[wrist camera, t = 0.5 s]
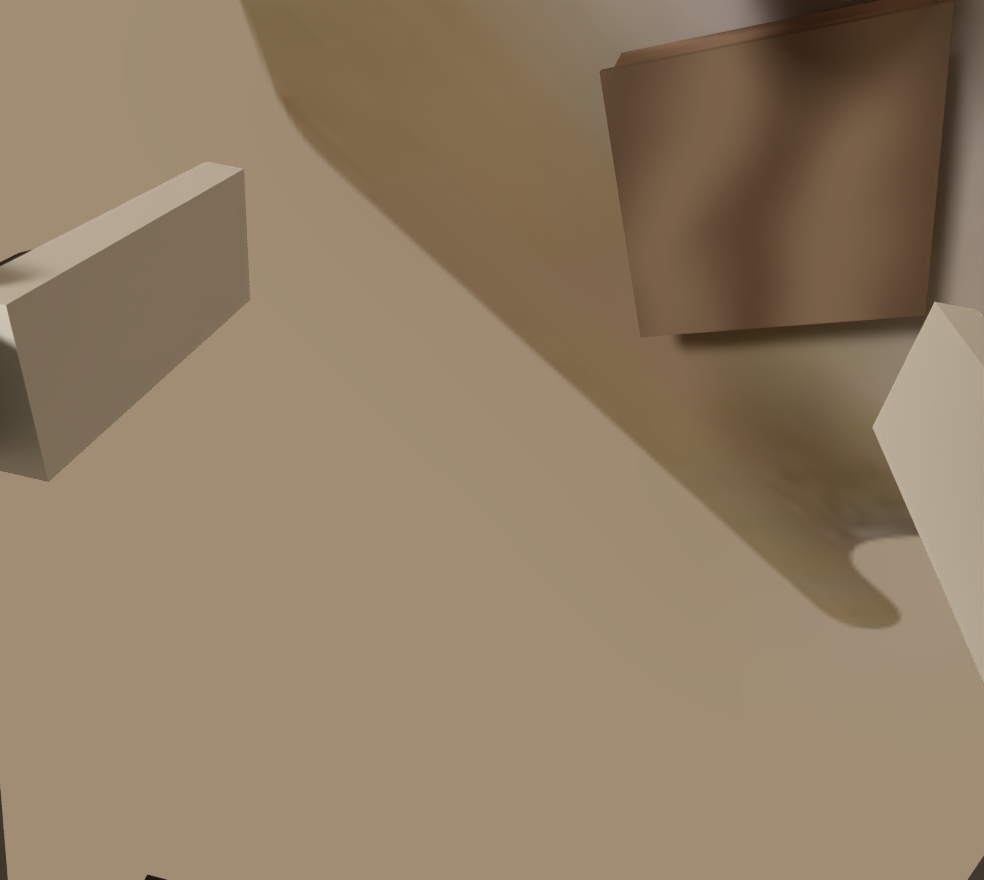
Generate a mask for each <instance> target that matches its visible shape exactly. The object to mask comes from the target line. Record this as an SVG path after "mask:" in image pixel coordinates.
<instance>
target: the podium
mask: <svg viewBox="0 0 984 880" xmlns="http://www.w3.org/2000/svg"><path fill="white" fill-rule="evenodd" d="M953 13H954V0H946V1H941V2H935V1H934V0H877V1H872V2H867V3H862V4H857V5H852V6H848V7H843V8H838V9H833V10H828V11H823V12H819V13H814V14H809V15H804V16H799V17H794V18H789V19H785V20H780V21H775V22H770V23H765V24H760V25H756V26H751V27H746V28H741V29H736V30H731V31H727V32H722V33H717V34H712V35H707V36H702V37H697V38H693V39H688V40H683V41H678V42H673V43H668V44H664V45H659V46H654V47H649V48H644V49H639V50H635V51H630V52H625V53H621V55H620V57H619V59H618V61H617V63H616V65H615V67H613V68H608V69H603V70H601V71H600V77H601V84H602V90H603V97H604V103H605V109H606V116H607V122H608V129H609V135H610V142H611V148H612V155H613V161H614V168H615V174H616V181H617V187H618V193H619V200H620V206H621V213H622V219H623V226H624V232H625V239H626V245H627V252H628V258H629V265H630V271H631V277H632V284H633V290H634V297H635V303H636V310H637V316H638V323H639V329H640V336H641V337H648V336H662V335H675V334H688V333H702V332H715V331H728V330H742V329H755V328H768V327H781V326H795V325H808V324H821V323H835V322H848V321H861V320H875V319H888V318H901V317H914V316H926V305H927V294H928V283H929V272H930V262H931V251H932V240H933V229H934V218H935V207H936V197H937V186H938V175H939V164H940V153H941V143H942V132H943V121H944V110H945V99H946V88H947V78H948V67H949V56H950V45H951V34H952V23H953Z"/></svg>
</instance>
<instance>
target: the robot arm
mask: <svg viewBox="0 0 984 880" xmlns="http://www.w3.org/2000/svg"><path fill="white" fill-rule="evenodd" d="M249 300H250V291H249V269H248V248H247V227H246V206H245V183H244V169H242V168H237V167H231V166H226V165H221V164H215V163H210V162H204V163H203V164H201V165H199V166H197V167H195V168H193V169H191V170H189V171H187V172H185V173H183V174H181V175H179V176H177V177H175V178H173V179H171V180H169V181H167V182H165V183H163V184H161V185H159V186H157V187H155V188H153V189H151V190H149V191H148V192H145V193H144V194H142V195H140V196H138V197H136V198H134V199H132V200H130V201H128V202H126V203H124V204H122V205H120V206H118V207H116V208H114V209H112V210H110V211H108V212H106V213H104V214H102V215H100V216H98V217H96V218H94V219H92V220H90V221H88V222H86V223H85V224H83V225H81V226H79V227H77V228H75V229H73V230H71V231H69V232H67V233H65V234H63V235H61V236H59V237H57V238H55V239H53V240H51V241H49V242H47V243H45V244H43V245H41V246H39V247H37V248H36V249H33V250H29V251H25V252H21V253H18V254H16V255H14V256H12V257H10V258H8V259H6V260H4V261H2V262H0V471H4V472H8V473H13V474H17V475H22V476H26V477H30V478H35V479H39V480H43V481H48V482H49V481H50V480H51V479H52V478H53V477H54V476H55V475H56V474H58V473H59V472H60V471H61V470H62V469H63V468H64V467H65V466H66V465H68V464H69V463H70V462H71V461H72V460H73V459H74V458H75V457H76V456H78V455H79V453H81V452H82V451H83V450H84V449H85V448H86V447H87V446H88V445H90V444H91V443H92V442H93V441H94V440H95V439H96V438H97V437H99V435H101V434H102V433H103V432H104V431H105V430H106V429H107V428H108V427H110V426H111V425H112V424H113V423H114V422H115V421H116V420H117V419H118V418H120V417H121V416H122V415H123V414H124V413H125V412H126V411H127V410H128V409H130V408H131V407H132V406H133V405H134V404H135V403H136V402H137V401H138V400H140V399H141V398H142V397H143V396H144V395H145V394H146V393H147V392H148V391H149V390H151V389H152V388H153V387H154V386H155V385H156V384H157V383H158V382H159V381H161V380H162V379H163V378H164V377H165V376H166V375H167V374H168V373H169V372H170V371H172V370H173V369H174V368H175V367H176V366H177V365H178V364H179V363H181V362H182V361H183V360H184V359H185V358H186V357H187V356H188V355H189V354H190V353H192V352H193V351H194V350H195V349H196V348H197V347H198V346H199V345H201V344H202V343H203V342H204V341H205V340H206V339H207V338H208V337H209V336H210V335H212V334H213V333H214V332H215V331H216V330H217V329H218V328H219V327H220V326H222V325H223V323H225V322H226V321H227V320H228V319H229V318H230V317H231V316H232V315H234V314H235V313H236V312H237V311H238V310H239V309H240V308H241V307H242V306H244V305H245V304H246V303H247V302H248V301H249ZM872 428H873V430H874V432H875V434H876V437H877V439H878V441H879V444H880V446H881V448H882V451H883V453H884V455H885V457H886V460H887V462H888V464H889V467H890V469H891V471H892V474H893V476H894V478H895V480H896V483H897V485H898V487H899V490H900V492H901V494H902V497H903V499H904V501H905V504H906V506H907V508H908V510H909V513H910V515H911V517H912V520H913V522H914V524H915V527H916V529H917V531H918V533H919V536H920V538H921V540H922V543H923V545H924V547H925V550H926V552H927V554H928V556H929V559H930V561H931V563H932V566H933V568H934V570H935V573H936V575H937V577H938V579H939V582H940V584H941V586H942V588H943V591H944V593H945V596H946V598H947V600H948V602H949V605H950V607H951V609H952V612H953V614H954V616H955V619H956V621H957V623H958V626H959V628H960V630H961V632H962V635H963V637H964V639H965V642H966V644H967V646H968V649H969V651H970V653H971V655H972V658H973V660H974V662H975V665H976V667H977V669H978V672H979V674H980V676H981V678H982V681H983V683H984V317H983V315H982V314H981V313H980V312H979V311H978V310H976V309H970V308H965V307H960V306H955V305H950V304H944V303H939V302H934V304H933V306H932V308H931V310H930V312H929V314H928V316H927V318H926V320H925V322H924V324H923V326H922V328H921V330H920V332H919V334H918V336H917V338H916V340H915V342H914V344H913V347H912V349H911V351H910V353H909V355H908V357H907V359H906V361H905V363H904V365H903V367H902V369H901V371H900V373H899V375H898V377H897V379H896V381H895V383H894V385H893V387H892V389H891V391H890V393H889V395H888V397H887V399H886V401H885V403H884V405H883V407H882V409H881V411H880V413H879V415H878V417H877V419H876V421H875V423H874V425H873V427H872ZM0 880H8V878H7V866H6V853H5V841H4V829H3V816H2V805H1V792H0ZM145 880H165V879H162V878H158V877H155V876H151V875H147V876H146V878H145ZM968 880H984V856H983V858H982V859H981V861H980V862H979V864H978V865H977V867H976V868H975V870H974V871H973V873H972V874H971V876H970V877H969V879H968Z"/></svg>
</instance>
